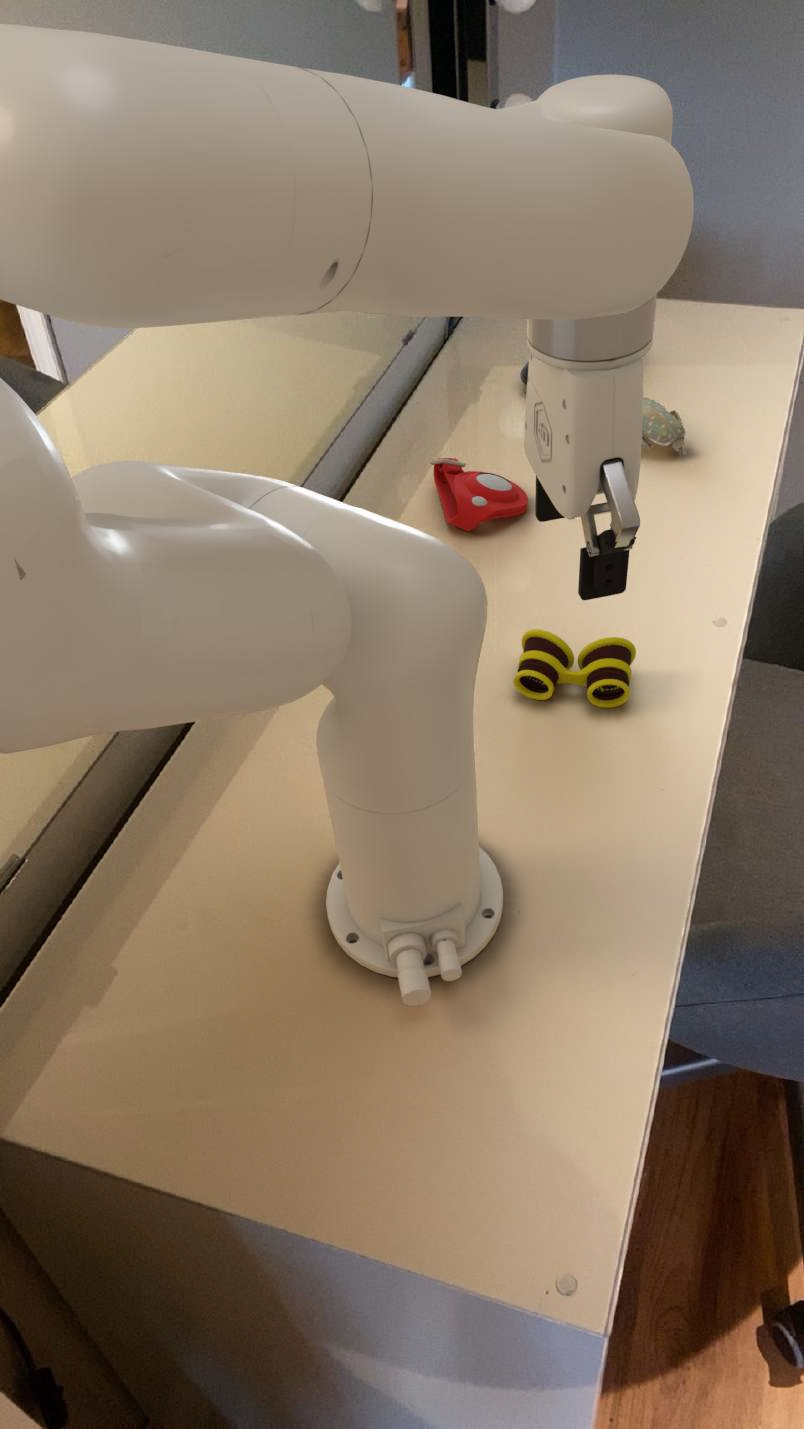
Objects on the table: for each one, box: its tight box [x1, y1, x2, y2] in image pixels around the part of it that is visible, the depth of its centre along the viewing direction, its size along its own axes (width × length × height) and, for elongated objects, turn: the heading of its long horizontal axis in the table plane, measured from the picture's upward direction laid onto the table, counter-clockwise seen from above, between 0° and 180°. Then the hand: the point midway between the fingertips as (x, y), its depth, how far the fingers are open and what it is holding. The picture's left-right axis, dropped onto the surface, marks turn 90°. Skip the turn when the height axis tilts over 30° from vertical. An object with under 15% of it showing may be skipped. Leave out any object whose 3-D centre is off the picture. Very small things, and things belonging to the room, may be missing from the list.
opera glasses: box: [513, 628, 637, 709], centre depth 88 cm, size 10×5×5 cm, turn 76°
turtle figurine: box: [642, 396, 687, 456], centre depth 117 cm, size 9×11×5 cm
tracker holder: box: [429, 456, 529, 532], centre depth 109 cm, size 12×4×10 cm
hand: (578, 553), depth 74 cm, fingers open, 9 cm apart
